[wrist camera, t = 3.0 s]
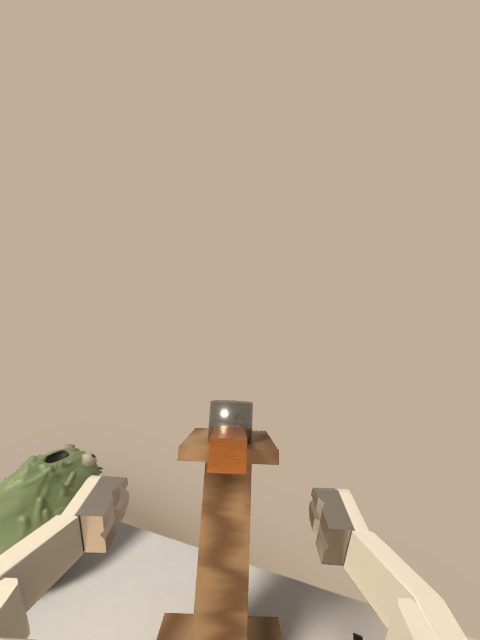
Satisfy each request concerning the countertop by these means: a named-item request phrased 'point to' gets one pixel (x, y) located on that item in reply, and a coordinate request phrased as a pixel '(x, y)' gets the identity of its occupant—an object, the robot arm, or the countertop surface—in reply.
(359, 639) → the valve
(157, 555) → the countertop surface
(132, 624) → the countertop surface
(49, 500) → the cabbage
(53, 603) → the countertop surface
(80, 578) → the countertop surface
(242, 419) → the valve lever
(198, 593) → the stand
